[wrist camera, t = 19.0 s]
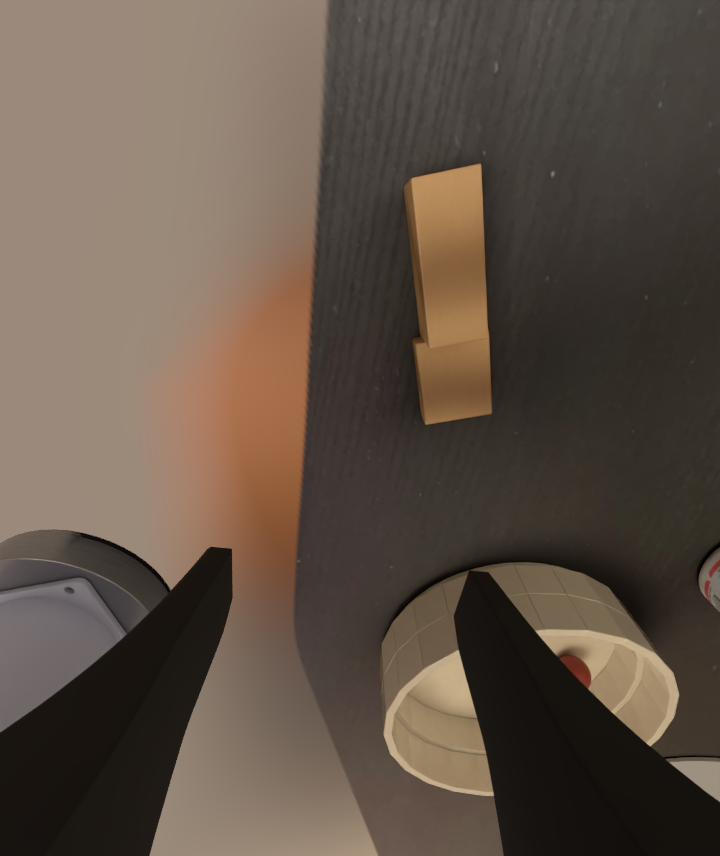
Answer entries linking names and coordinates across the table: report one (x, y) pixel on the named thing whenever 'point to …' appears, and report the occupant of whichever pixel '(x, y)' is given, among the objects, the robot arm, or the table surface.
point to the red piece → (578, 668)
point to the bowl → (557, 626)
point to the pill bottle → (711, 579)
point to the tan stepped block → (450, 293)
